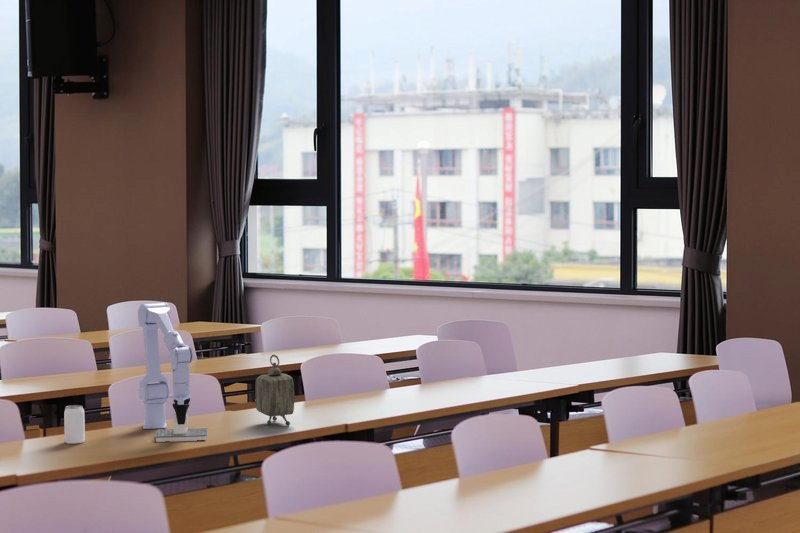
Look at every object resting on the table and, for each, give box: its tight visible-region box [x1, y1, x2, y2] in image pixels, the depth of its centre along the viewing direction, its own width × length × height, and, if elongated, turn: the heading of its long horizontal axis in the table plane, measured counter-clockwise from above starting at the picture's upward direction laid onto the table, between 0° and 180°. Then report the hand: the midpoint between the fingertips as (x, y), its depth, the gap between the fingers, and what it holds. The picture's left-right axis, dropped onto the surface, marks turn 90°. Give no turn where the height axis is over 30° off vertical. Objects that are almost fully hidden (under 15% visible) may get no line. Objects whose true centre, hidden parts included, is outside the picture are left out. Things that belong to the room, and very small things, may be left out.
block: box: [172, 413, 188, 434], centre depth 397 cm, size 4×4×6 cm
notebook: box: [154, 427, 209, 443], centre depth 398 cm, size 12×17×2 cm
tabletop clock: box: [254, 354, 295, 427], centre depth 420 cm, size 14×9×25 cm, turn 32°
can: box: [63, 404, 86, 445], centre depth 390 cm, size 6×6×12 cm
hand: (181, 422), depth 398 cm, fingers open, 7 cm apart
